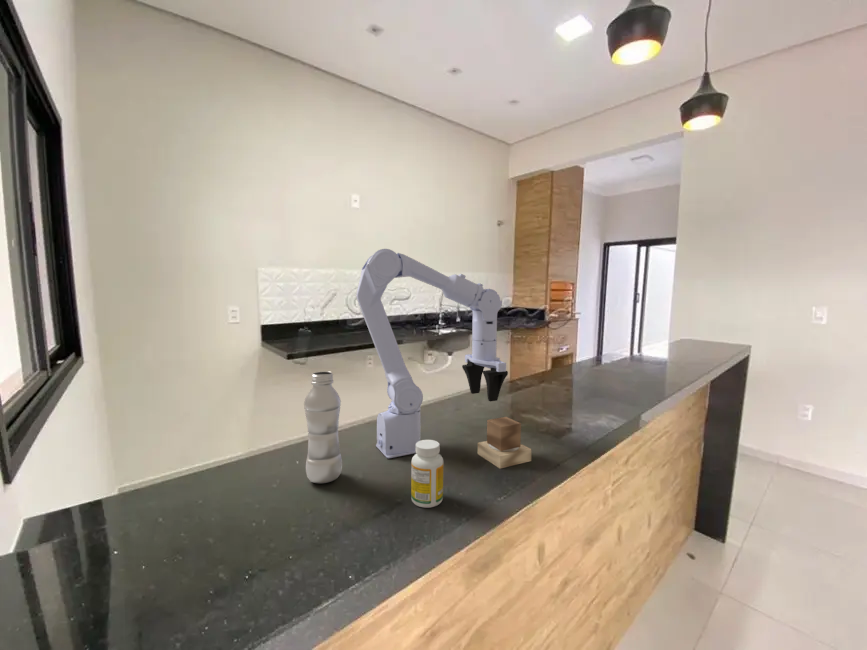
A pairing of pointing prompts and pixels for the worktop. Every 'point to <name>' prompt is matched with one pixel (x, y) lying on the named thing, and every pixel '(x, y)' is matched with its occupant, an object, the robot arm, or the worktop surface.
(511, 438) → the walnut cube
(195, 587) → the worktop surface
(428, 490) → the supplement bottle
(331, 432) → the plastic bottle
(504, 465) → the base block
